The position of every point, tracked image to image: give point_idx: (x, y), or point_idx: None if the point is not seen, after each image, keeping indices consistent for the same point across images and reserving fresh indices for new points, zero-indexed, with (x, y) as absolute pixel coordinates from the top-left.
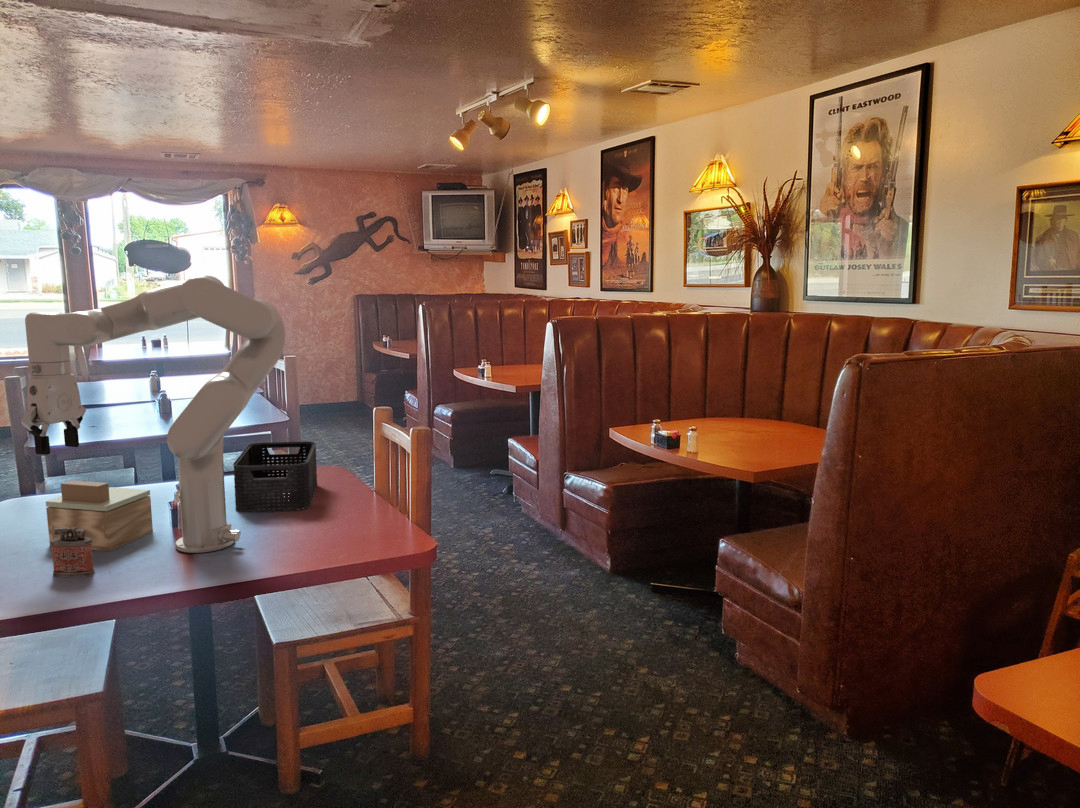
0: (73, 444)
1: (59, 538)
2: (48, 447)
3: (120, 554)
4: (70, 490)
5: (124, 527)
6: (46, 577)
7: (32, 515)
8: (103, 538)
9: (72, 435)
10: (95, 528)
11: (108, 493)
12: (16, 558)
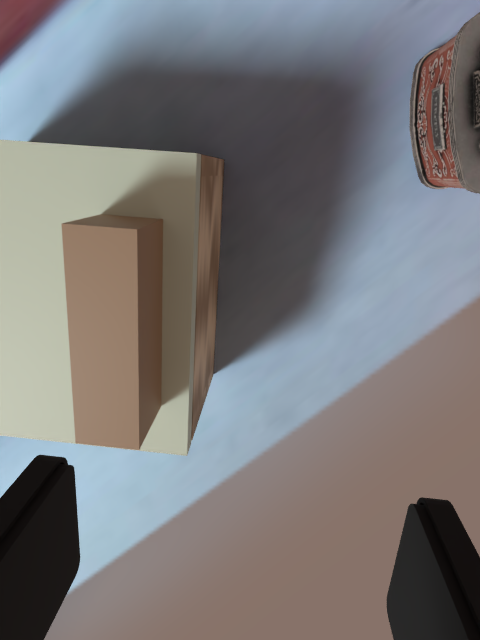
0: (64, 502)
1: (475, 169)
2: (462, 553)
3: (245, 98)
4: (148, 386)
5: None
6: (468, 191)
7: None
8: (217, 182)
9: (5, 595)
10: (211, 216)
11: (91, 217)
12: (321, 388)
